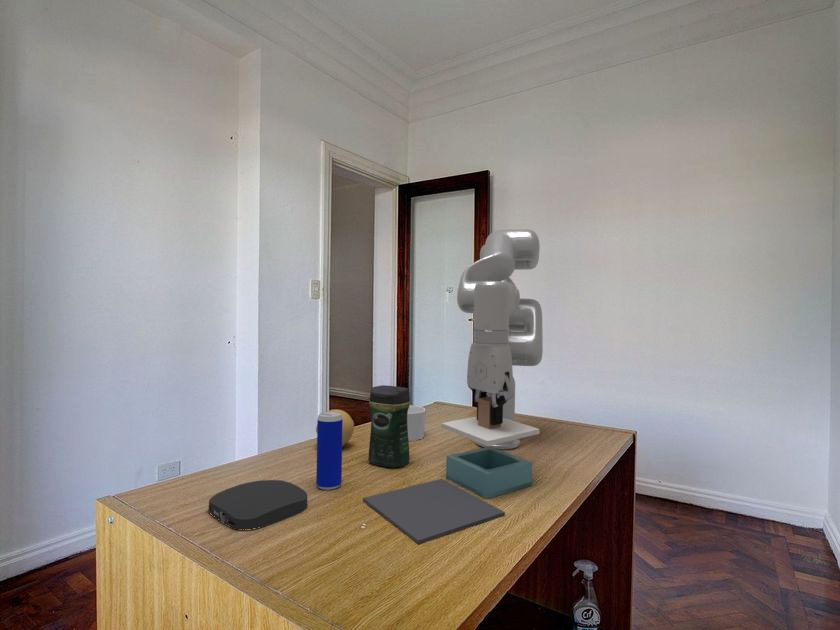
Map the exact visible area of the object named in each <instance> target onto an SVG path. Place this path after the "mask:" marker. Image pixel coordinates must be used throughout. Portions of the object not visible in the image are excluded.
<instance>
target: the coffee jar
mask: <svg viewBox="0 0 840 630" xmlns="http://www.w3.org/2000/svg"><path fill="white" fill-rule="evenodd" d="M368 403H369V407H370V413H371V414H370V415H371V416H370V417H371V419H370V433H369V434H370V436H369V443H368V444H369V446H368V461H369V463H370V464H373V465H377V466H380V467H381V466H382V467H386V468H397V467H403V466H405V465H406V464H408V463H409V462H410V443H409V442H410V441H408V427H407V414H408V408H409V406H410V405H411V396H410V391H409V388H407V387H403V386H402V387H401V386H395V385H384V384H383V385H377V386H373V387H372V388H371V390H370V394H369V401H368Z"/></svg>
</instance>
